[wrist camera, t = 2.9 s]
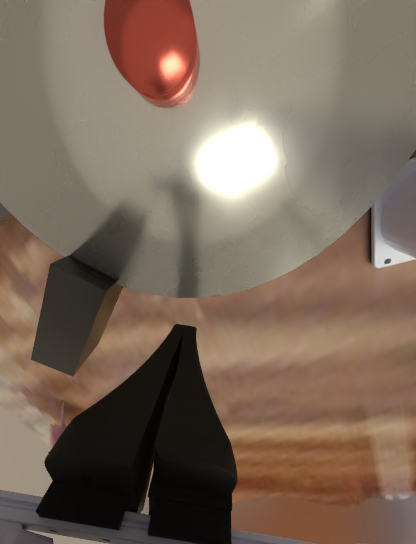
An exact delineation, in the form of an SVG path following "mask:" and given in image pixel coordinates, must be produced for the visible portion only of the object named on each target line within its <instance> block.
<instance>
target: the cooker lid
mask: <svg viewBox="0 0 416 544" xmlns="http://www.w3.org/2000/svg"><path fill="white" fill-rule="evenodd" d="M415 150H416V0H0V203H1V204H2V205H3V206H4V207H5V208H6V209H7V210H8V211H9V212H10V213H11V214H12V215H13V216H14V217H15V218H16V219H17V220H18V221H19V222H20V223H21V224H22V225H23V226H24V227H25V228H26V229H28V230H29V231H30V232H31V233H32V234H34V235H35V236H36V237H37V238H39V239H40V240H41V241H42V242H43V243H45V244H46V245H47V246H48V247H50V248H51V249H53V250H54V251H56V252H57V253H58V254H60V255H61V256H63V257H64V258H62V259H60V260H58V261H56V262H54V263H51V264H50V269H49V274H48V278H47V283H46V288H45V293H44V298H43V303H42V308H41V313H40V318H39V323H38V328H37V333H36V337H35V342H34V347H33V352H32V357H31V360H33V361H36V362H38V363H41V364H43V365H46V366H48V367H51V368H53V369H56V370H58V371H61V372H63V373H66V374H68V375H71V376H74V375H75V373H76V372H77V371H78V369H79V368H80V367H81V366H82V364H83V363H84V362H85V360H86V359H87V358H88V357H89V355H90V354H91V353H92V351H93V350H94V349H95V348H96V346H97V345H98V343H99V341H100V339H101V336H102V334H103V332H104V329H105V327H106V325H107V323H108V320H109V318H110V316H111V313H112V311H113V309H114V306H115V304H116V302H117V300H118V297H119V295H120V293H121V290H122V288H123V287H126V288H129V289H132V290H135V291H139V292H144V293H149V294H153V295H158V296H168V297H178V298H199V297H210V296H218V295H225V294H229V293H234V292H238V291H242V290H246V289H249V288H252V287H255V286H258V285H260V284H263V283H266V282H269V281H271V280H273V279H275V278H277V277H279V276H281V275H283V274H285V273H287V272H289V271H292V270H294V269H295V268H297V267H298V266H300V265H302V264H303V263H305V262H306V261H308V260H309V259H311V258H313V257H314V256H316V255H317V254H319V253H320V252H321V251H323V250H324V249H325V248H326V247H328V246H329V245H330V244H332V243H333V242H334V241H335V240H337V239H338V238H339V237H340V236H342V235H343V234H344V233H345V232H346V231H347V230H348V229H349V228H350V227H351V226H352V225H353V224H354V223H355V222H356V221H357V220H359V219H360V218H361V217H362V216H363V215H364V214H365V213H366V212H367V211H368V210H369V209H370V207H371V206H372V205H373V204H374V203H375V202H376V200H377V199H378V198H379V197H380V196H381V195H382V194H383V192H384V191H385V190H386V189H387V188H388V187H389V185H390V184H391V183H392V182H393V181H394V179H395V178H396V177H397V175H398V174H399V172H400V171H401V170H402V168H403V167H404V165H405V164H406V163H407V161H408V160H409V158H410V157H411V156H412V154H413V153H414V151H415Z"/></svg>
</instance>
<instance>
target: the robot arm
mask: <svg viewBox="0 0 416 544" xmlns="http://www.w3.org/2000/svg"><path fill="white" fill-rule="evenodd" d="M371 250H372V265H373V266H374V267H376V268H382V267H386V266H390V265H394V264H398V263H402V262H406V261H410V260H415V259H416V157H414V158H412V159H409V160H408V161H407V163H406V164H405V165H404V167H403V168H402V170H401V171H400V172H399V174H398V175H397V177H396V178H395V179H394V181H393V182H392V183H391V184H390V185H389V187H388V188H387V189H386V190H385V191H384V192H383V194H382V195H381V196H380V197H379V198H378V199H377V200H376V202H375V203H374V204H373V205H372V206H371ZM386 259H387V261H386V262H384V261H385V260H386ZM153 462H154V472H153V476H152V480H151V484H150V488H149V492H148V497H149V515H146V514H140V513H141V511H142V510H143V508H144V503H145V499H146V494H147V489H148V485H149V480H150V476H151V471H152V467H153ZM45 467H46V469H47V471H48V473H49V474H50V476H51V478H52V480H53V481H52V483H51V485H50V486H49V488H48V490H47V492H46V493H45V495H44V497H39V496H33V495H27V494H21V493H15V492H9V491H2V490H0V544H53V539H52V538H49V537H46V536H43V535H39V534H36V533H33V532H30V531H27V530H34V531H39V532H45V533H51V534H57V535H63V536H68V537H75V538H80V539H86V540H92V541H99V542H104V543H110V544H318V543H313V542H306V541H301V540H294V539H289V538H283V537H277V536H271V535H265V534H259V533H253V532H247V531H241V530H235V529H231V510H232V492H233V490H234V488H235V486H236V484H237V470H236V464H235V459H234V454H233V450H232V447H231V443H230V440H229V438H228V436H227V434H226V432H225V430H224V428H223V426H222V424H221V422H220V420H219V417H218V415H217V413H216V411H215V408H214V406H213V403H212V401H211V398H210V395H209V393H208V390H207V387H206V384H205V381H204V377H203V374H202V370H201V366H200V362H199V357H198V351H197V343H196V327H192V326H186V325H180V324H176V325H174V327H173V329H172V330H171V332H170V333H169V335H168V336H167V337H166V339H165V340H164V341H163V343H162V344H161V345H160V346H159V348H158V349H157V350H156V351H155V352H154V353H153V354H152V355H151V356H150V358H149V359H148V360H147V361H146V362H145V363H144V364H143V365H142V366H141V367H140V368H139V369H138V370H137V371H136V372H134V373H133V374H132V375H131V376H130V377H129V378H128V379H127V380H125V381H124V382H123V383H122V384H121V385H119V386H118V387H117V388H116V389H114V390H113V391H112V392H110V393H109V394H108V395H106V396H105V397H104V398H102V399H101V400H100V401H98V402H97V403H95V404H94V405H92V406H91V407H89V408H88V409H86V410H85V411H83V412H82V413H81V414H79V415H77V416H76V417H75V418H74V419H73V420H72V421H71V422H70V424H69V425H68V426H67V427H66V429H65V430H64V431H63V433H62V434H61V435H60V437H59V438H58V440H57V441H56V443H55V445H54V446H53V448H52V449H51V451H50V452H49V454H48V456H47V457H46V459H45ZM26 529H27V530H26ZM356 544H368V543H356Z"/></svg>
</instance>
